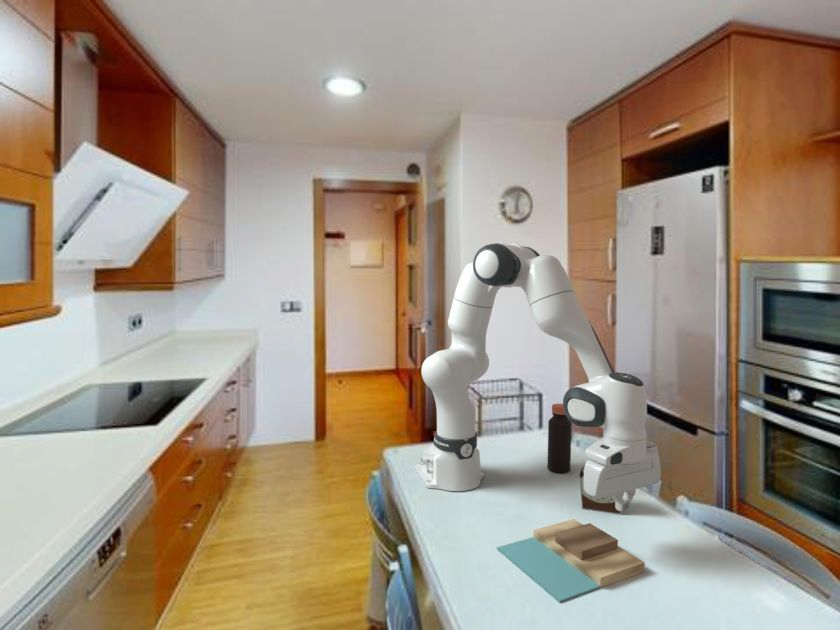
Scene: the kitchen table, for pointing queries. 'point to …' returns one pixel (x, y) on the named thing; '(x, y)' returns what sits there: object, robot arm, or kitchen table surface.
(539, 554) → the mat
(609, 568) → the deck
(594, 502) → the cake slice
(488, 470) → the kitchen table surface
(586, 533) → the tile
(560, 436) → the bottle
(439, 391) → the robot arm
